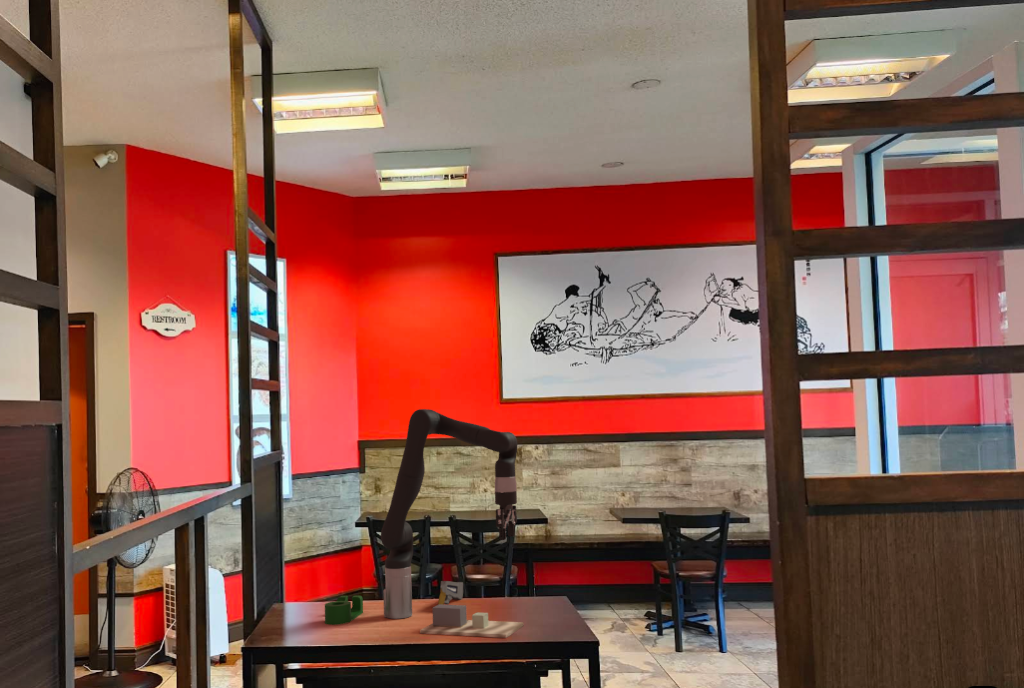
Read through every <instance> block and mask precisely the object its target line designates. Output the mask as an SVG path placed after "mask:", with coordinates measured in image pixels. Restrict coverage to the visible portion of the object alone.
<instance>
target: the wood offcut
mask: <svg viewBox="0 0 1024 688" xmlns="http://www.w3.org/2000/svg"><path fill="white" fill-rule="evenodd" d="M471 620H472V628H485V627H487V626H488V621H489V612H475V613H473V614H472V616H471Z"/></svg>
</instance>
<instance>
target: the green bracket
mask: <svg viewBox="0 0 1024 688" xmlns="http://www.w3.org/2000/svg"><path fill="white" fill-rule="evenodd" d="M362 614H364V599H363V596H362V595H353V596H352V597H351V601H350V600H349V596H348V595H341V596H339V597H337V600H335V601H330V602H326V603H325V604H324V624H325V625H331V626H336V625H337V626H338V625H339V626H340V625H344V624H348V623H351V622H352V621H353V620H355V619H357V618H358V617H359V616H361V615H362Z"/></svg>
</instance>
